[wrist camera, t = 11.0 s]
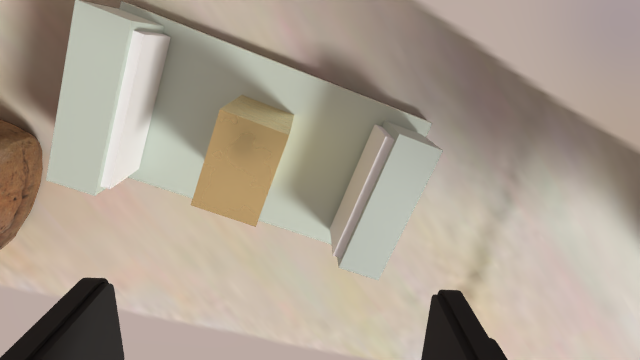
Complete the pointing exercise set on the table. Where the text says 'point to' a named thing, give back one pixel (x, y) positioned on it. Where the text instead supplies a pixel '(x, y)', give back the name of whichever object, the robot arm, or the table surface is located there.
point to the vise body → (200, 114)
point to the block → (17, 178)
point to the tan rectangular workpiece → (242, 159)
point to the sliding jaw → (381, 198)
